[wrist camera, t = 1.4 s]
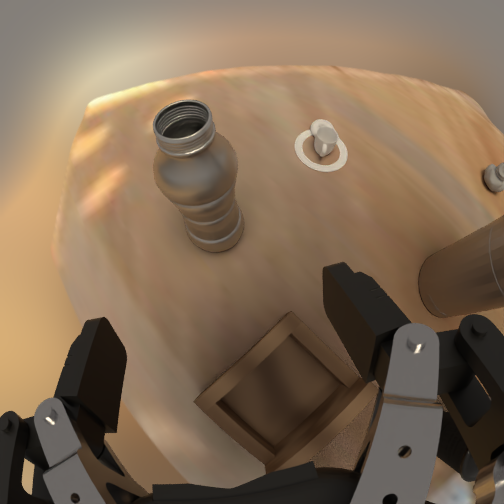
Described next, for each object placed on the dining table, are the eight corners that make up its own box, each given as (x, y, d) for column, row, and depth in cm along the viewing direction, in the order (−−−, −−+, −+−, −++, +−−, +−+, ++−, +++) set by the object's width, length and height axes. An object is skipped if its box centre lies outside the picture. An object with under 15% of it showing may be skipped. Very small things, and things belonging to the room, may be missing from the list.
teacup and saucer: (313, 120, 40) (317, 103, 36) (356, 146, 39) (365, 130, 35) (283, 154, 38) (286, 136, 34) (331, 183, 37) (339, 167, 33)
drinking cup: (395, 422, 27) (500, 471, 8) (437, 389, 28) (548, 405, 9) (410, 458, 26) (500, 512, 6) (449, 426, 27) (546, 454, 7)
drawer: (286, 313, 32) (295, 308, 25) (356, 381, 29) (379, 390, 23) (199, 394, 29) (187, 408, 23) (272, 459, 27) (277, 484, 20)
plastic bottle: (243, 257, 34) (234, 159, 14) (187, 255, 34) (118, 164, 14) (245, 208, 35) (240, 84, 16) (192, 207, 35) (144, 90, 16)
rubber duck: (476, 175, 38) (499, 154, 30) (488, 167, 39) (510, 147, 31) (490, 200, 37) (516, 181, 29) (502, 189, 38) (525, 171, 30)
